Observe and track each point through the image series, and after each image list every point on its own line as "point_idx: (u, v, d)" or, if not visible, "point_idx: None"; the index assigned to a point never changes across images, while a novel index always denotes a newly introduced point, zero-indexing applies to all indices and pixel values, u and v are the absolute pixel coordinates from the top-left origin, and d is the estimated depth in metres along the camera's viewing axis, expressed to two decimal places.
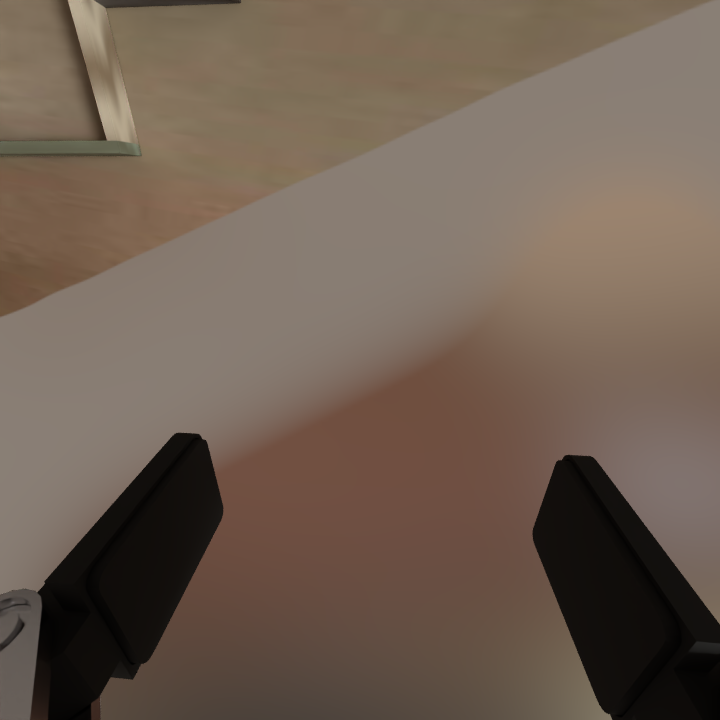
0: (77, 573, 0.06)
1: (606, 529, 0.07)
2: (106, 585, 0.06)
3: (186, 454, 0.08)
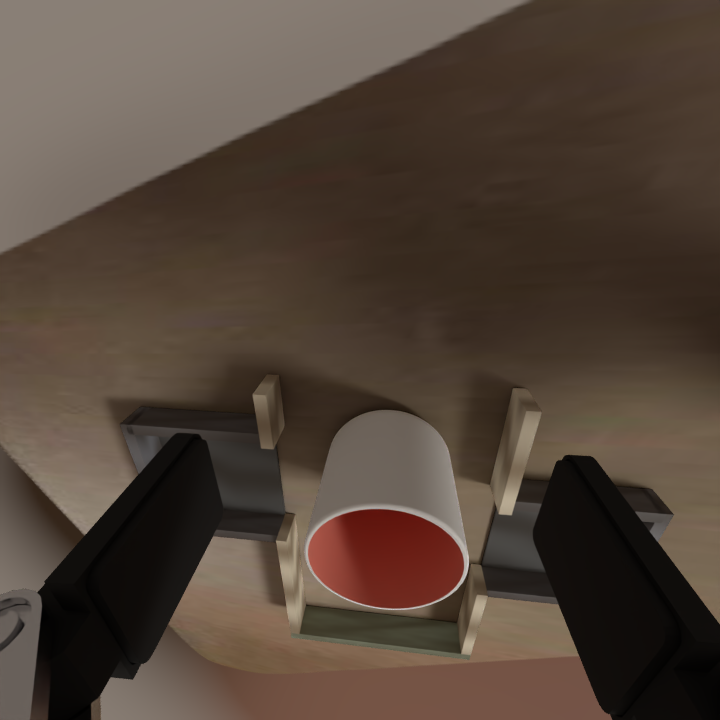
0: (77, 573, 0.06)
1: (606, 529, 0.07)
2: (106, 585, 0.06)
3: (186, 454, 0.08)
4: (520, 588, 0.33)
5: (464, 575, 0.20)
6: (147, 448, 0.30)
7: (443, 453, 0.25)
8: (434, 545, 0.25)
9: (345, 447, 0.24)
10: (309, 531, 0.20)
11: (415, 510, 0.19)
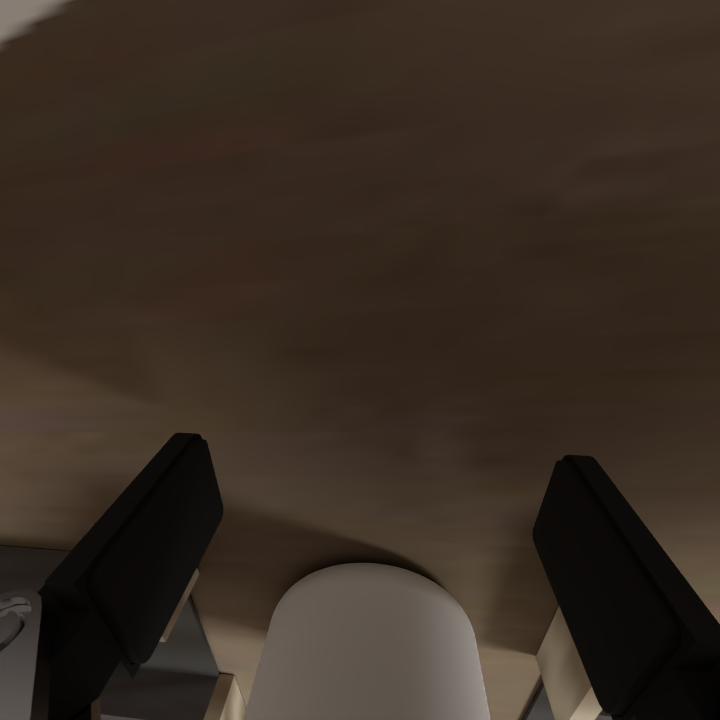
0: (77, 573, 0.06)
1: (606, 529, 0.07)
2: (106, 585, 0.06)
3: (186, 454, 0.08)
4: None
5: None
6: None
7: (469, 666, 0.14)
8: None
9: (284, 674, 0.13)
10: None
11: None
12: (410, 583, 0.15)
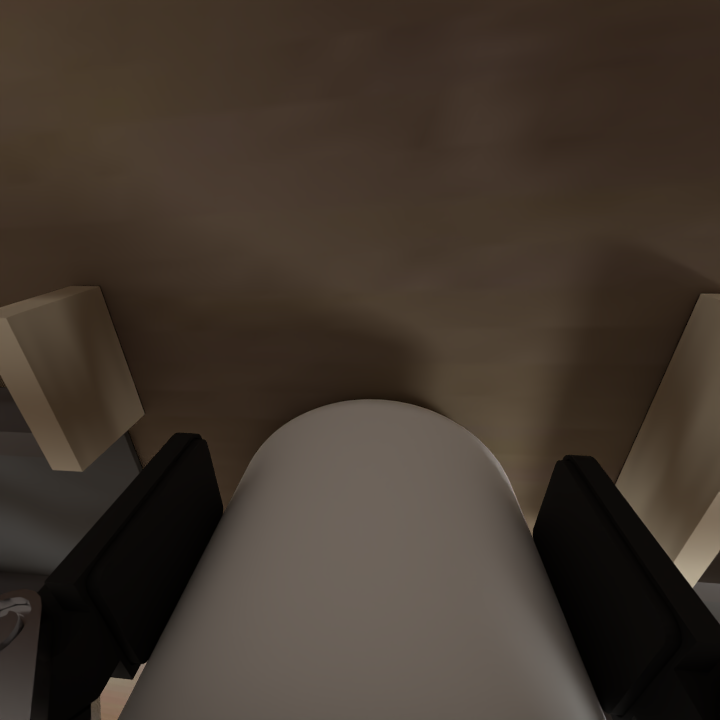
0: (77, 573, 0.06)
1: (606, 529, 0.07)
2: (106, 585, 0.06)
3: (186, 454, 0.08)
4: None
5: None
6: None
7: (517, 510, 0.09)
8: None
9: (247, 504, 0.09)
10: None
11: None
12: (429, 413, 0.11)
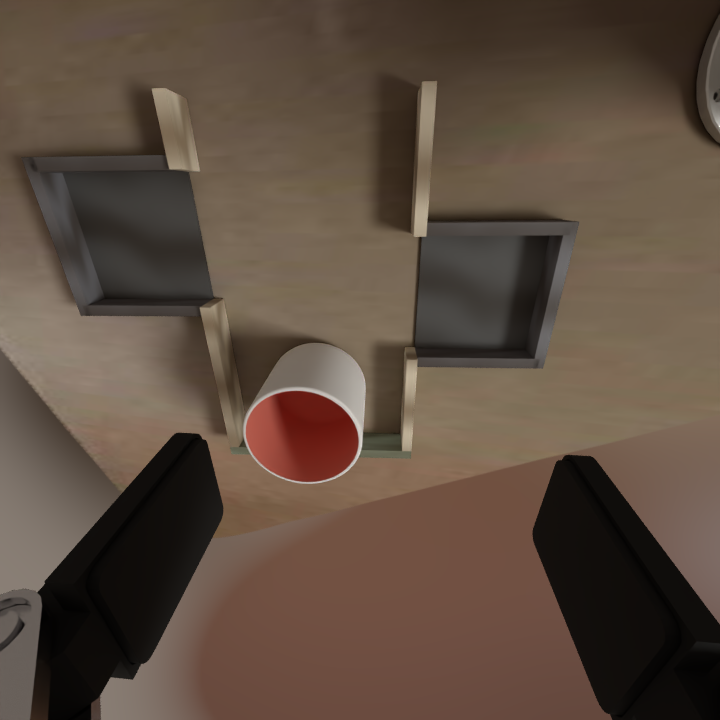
0: (77, 573, 0.06)
1: (606, 529, 0.07)
2: (106, 585, 0.06)
3: (186, 454, 0.08)
4: (450, 355, 0.33)
5: (360, 444, 0.28)
6: (57, 201, 0.29)
7: (354, 370, 0.33)
8: (349, 440, 0.33)
9: (277, 366, 0.32)
10: (245, 416, 0.28)
11: (316, 390, 0.26)
12: (331, 345, 0.34)
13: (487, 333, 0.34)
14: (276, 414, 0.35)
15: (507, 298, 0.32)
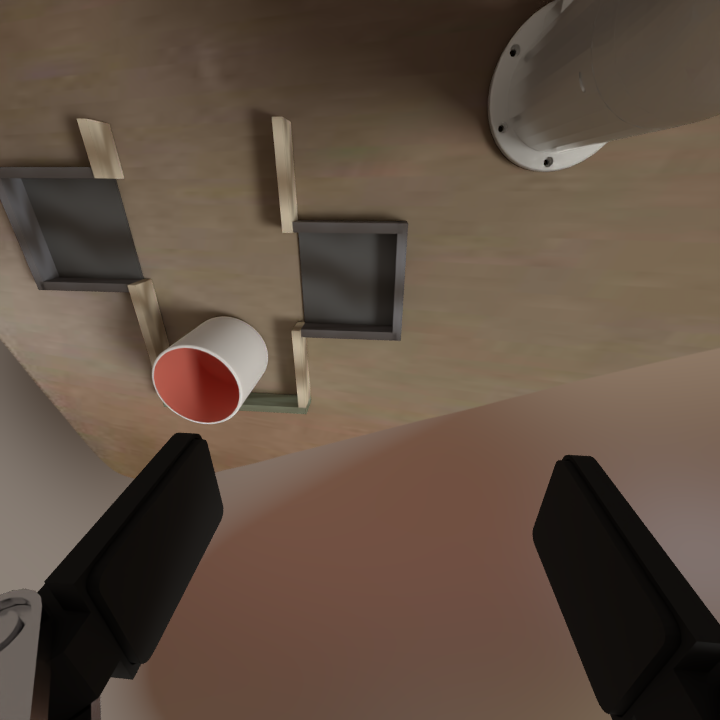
0: (77, 573, 0.06)
1: (606, 529, 0.07)
2: (106, 585, 0.06)
3: (186, 454, 0.08)
4: (328, 328, 0.41)
5: (240, 392, 0.37)
6: (16, 200, 0.38)
7: (250, 338, 0.41)
8: None
9: None
10: (152, 368, 0.37)
11: (201, 348, 0.35)
12: (236, 319, 0.43)
13: (360, 312, 0.42)
14: (194, 373, 0.44)
15: (372, 283, 0.40)
